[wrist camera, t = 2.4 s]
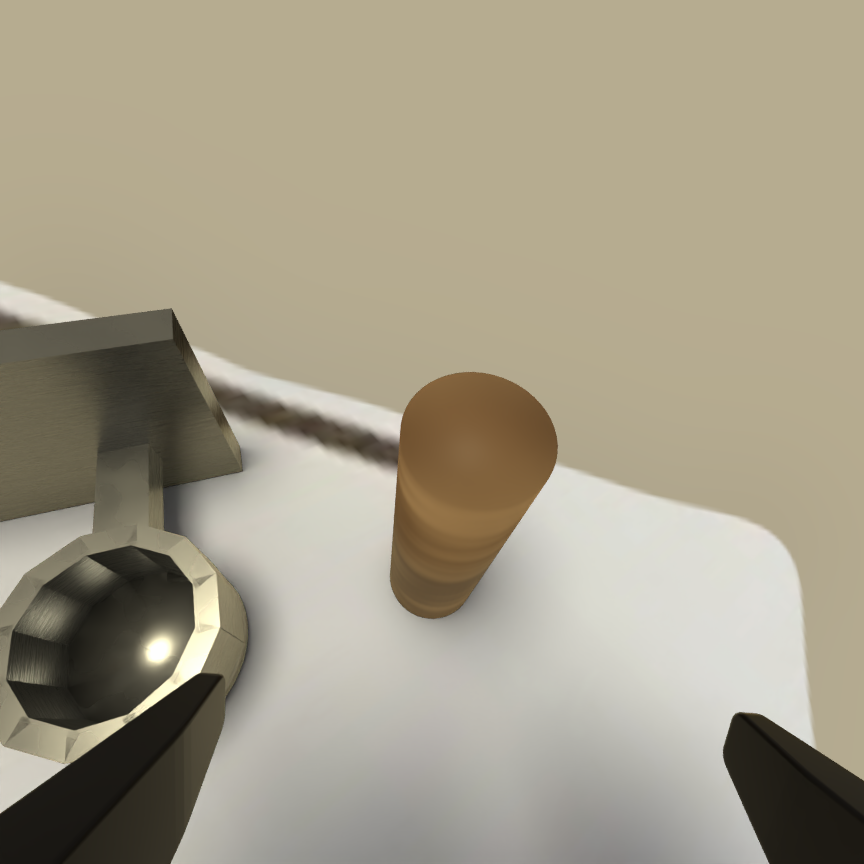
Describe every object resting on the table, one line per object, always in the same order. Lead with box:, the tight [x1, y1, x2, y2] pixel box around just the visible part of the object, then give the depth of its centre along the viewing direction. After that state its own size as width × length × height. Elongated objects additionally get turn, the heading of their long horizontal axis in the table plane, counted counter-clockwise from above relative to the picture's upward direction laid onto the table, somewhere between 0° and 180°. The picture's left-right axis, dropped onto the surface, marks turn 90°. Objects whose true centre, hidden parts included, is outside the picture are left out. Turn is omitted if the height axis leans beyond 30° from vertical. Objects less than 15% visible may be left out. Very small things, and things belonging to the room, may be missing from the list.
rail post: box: [390, 372, 558, 619], centre depth 18 cm, size 4×4×13 cm
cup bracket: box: [0, 309, 248, 764], centre depth 17 cm, size 13×13×10 cm
